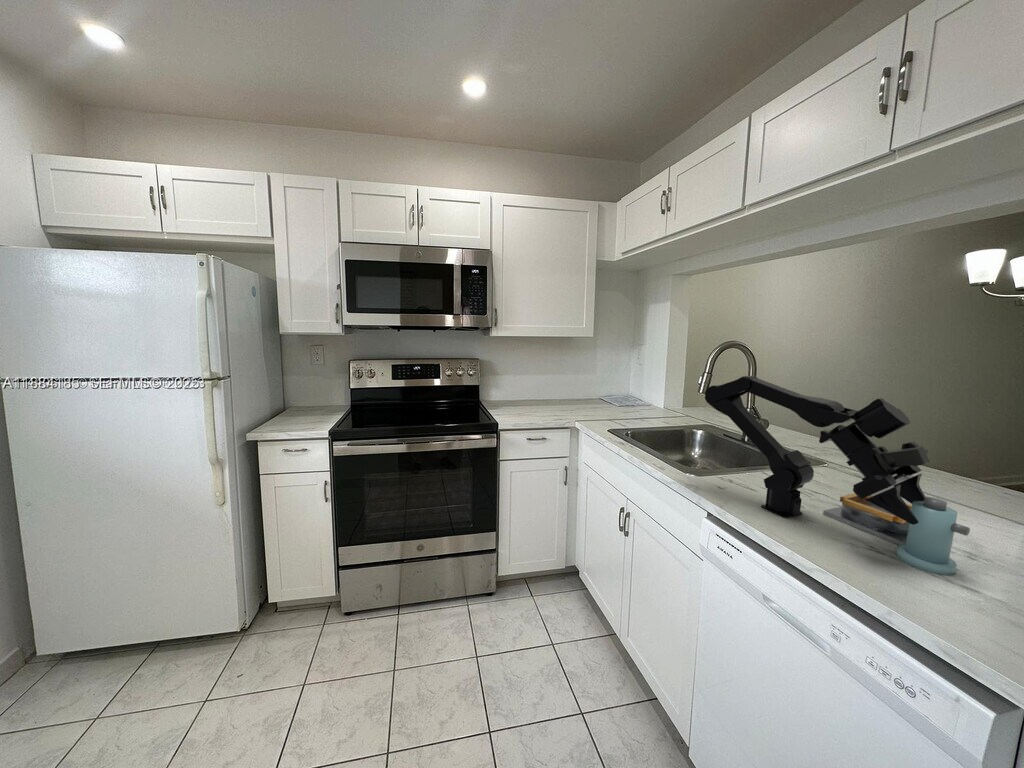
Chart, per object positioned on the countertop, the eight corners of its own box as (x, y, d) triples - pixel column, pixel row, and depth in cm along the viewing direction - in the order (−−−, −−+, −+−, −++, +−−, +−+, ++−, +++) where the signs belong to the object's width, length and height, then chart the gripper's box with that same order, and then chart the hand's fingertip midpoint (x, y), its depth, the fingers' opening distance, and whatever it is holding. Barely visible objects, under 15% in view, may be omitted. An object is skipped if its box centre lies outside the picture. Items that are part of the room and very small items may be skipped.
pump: (887, 555, 80) (897, 494, 78) (910, 548, 83) (919, 489, 81) (947, 581, 72) (959, 514, 70) (970, 572, 75) (982, 507, 73)
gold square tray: (823, 514, 98) (825, 494, 97) (857, 506, 103) (860, 487, 102) (905, 547, 83) (909, 524, 82) (941, 536, 88) (945, 514, 87)
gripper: (881, 435, 75) (957, 512, 67) (913, 425, 85) (984, 491, 77) (827, 463, 83) (890, 535, 75) (862, 451, 92) (922, 514, 84)
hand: (923, 518), depth 77 cm, fingers open, 9 cm apart
